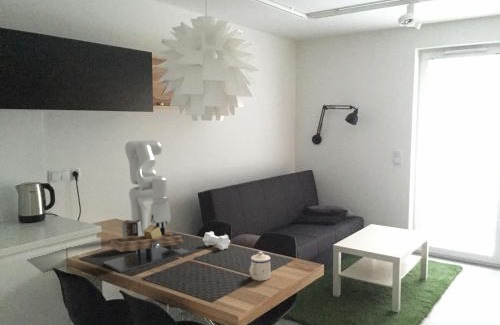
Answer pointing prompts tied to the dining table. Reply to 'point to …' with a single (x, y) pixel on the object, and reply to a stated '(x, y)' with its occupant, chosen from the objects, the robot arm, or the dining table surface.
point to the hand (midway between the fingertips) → (161, 234)
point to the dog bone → (216, 240)
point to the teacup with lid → (260, 267)
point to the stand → (145, 257)
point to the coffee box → (132, 228)
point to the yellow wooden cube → (152, 232)
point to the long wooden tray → (146, 242)
